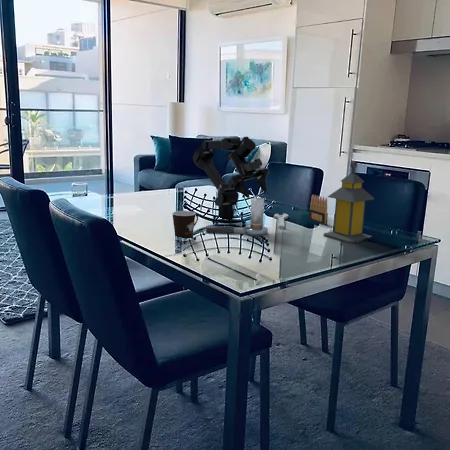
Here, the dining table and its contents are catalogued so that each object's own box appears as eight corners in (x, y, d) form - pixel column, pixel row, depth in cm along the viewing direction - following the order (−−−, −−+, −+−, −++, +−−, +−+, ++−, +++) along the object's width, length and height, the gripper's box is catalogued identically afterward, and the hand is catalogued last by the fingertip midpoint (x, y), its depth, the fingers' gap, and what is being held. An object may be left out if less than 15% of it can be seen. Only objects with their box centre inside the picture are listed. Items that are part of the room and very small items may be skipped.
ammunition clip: (327, 224, 215) (329, 197, 212) (324, 225, 214) (326, 198, 211) (311, 219, 224) (313, 193, 221) (308, 220, 223) (309, 193, 220)
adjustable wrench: (284, 230, 205) (284, 226, 205) (269, 229, 207) (269, 225, 206) (288, 217, 229) (288, 213, 229) (274, 216, 230) (274, 212, 230)
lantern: (322, 235, 196) (327, 160, 189) (344, 231, 205) (351, 158, 198) (350, 244, 186) (357, 164, 178) (373, 238, 194) (380, 162, 187)
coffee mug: (177, 243, 181) (177, 216, 179) (169, 237, 188) (168, 211, 186) (206, 240, 186) (206, 214, 184) (196, 234, 194) (197, 209, 191)
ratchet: (205, 234, 194) (205, 228, 194) (207, 228, 203) (207, 223, 202) (267, 236, 193) (268, 231, 192) (267, 231, 201) (267, 225, 201)
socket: (249, 229, 195) (250, 200, 192) (250, 226, 200) (251, 197, 197) (263, 230, 194) (264, 200, 191) (262, 227, 199) (264, 198, 196)
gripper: (230, 157, 196) (248, 190, 193) (266, 149, 206) (284, 180, 202) (219, 171, 205) (236, 203, 202) (254, 163, 215) (271, 193, 211)
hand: (257, 195), depth 204 cm, fingers open, 9 cm apart
